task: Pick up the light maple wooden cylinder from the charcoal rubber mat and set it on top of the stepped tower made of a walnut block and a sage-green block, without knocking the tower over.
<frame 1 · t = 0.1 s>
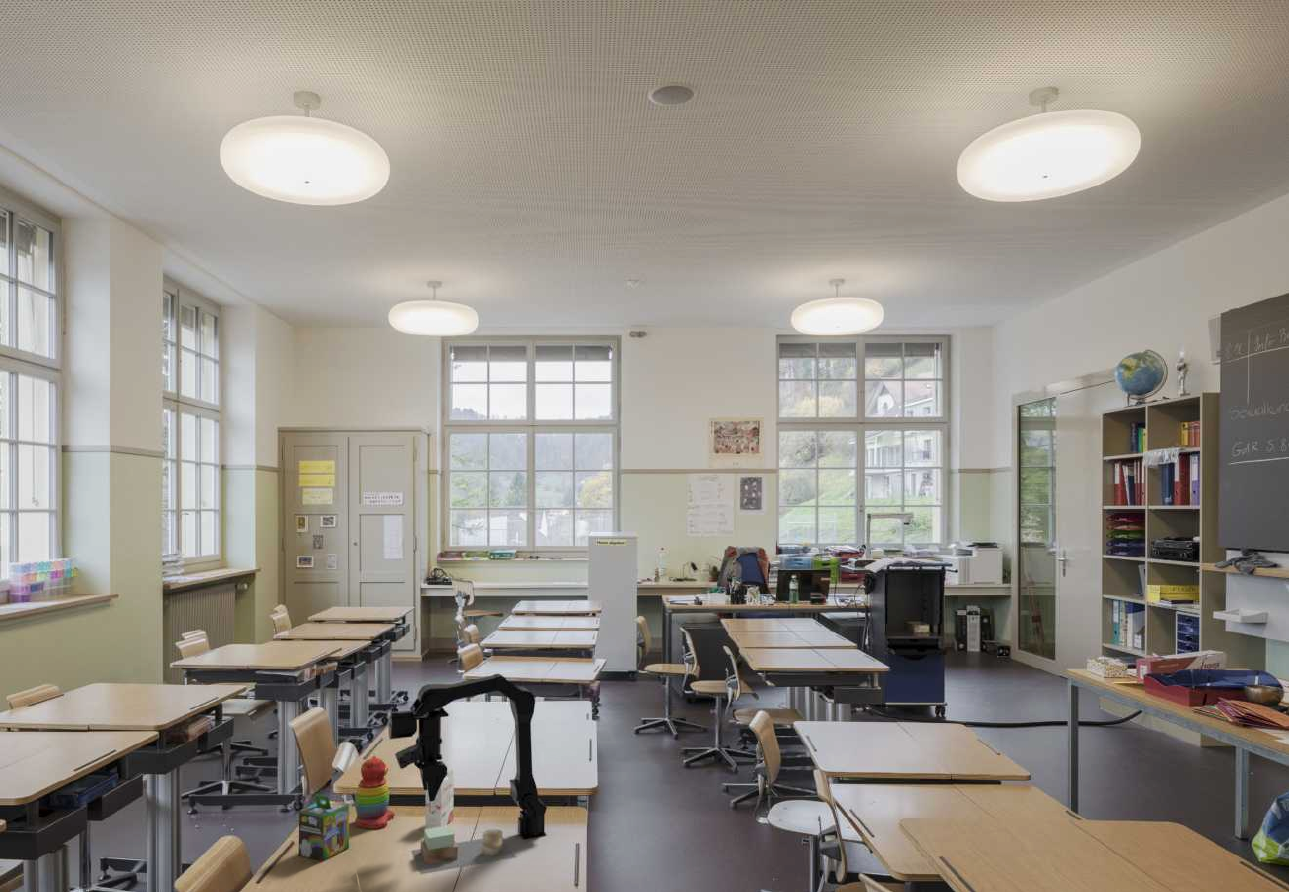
hand: (428, 795, 215), 15 cm above the table, tool pointing down, fingers open, 9 cm apart
walnut base block: (438, 855, 211), resting on rubber mat, touching sage top block
maple cylinder: (492, 852, 213), resting on rubber mat
ink cartridge box: (439, 825, 233), on the table
sage top block: (439, 843, 212), point 3 cm above the table, touching walnut base block
rubber mat: (463, 855, 212), on the table
stacking bear: (372, 822, 235), on the table
chalk box: (323, 852, 215), on the table
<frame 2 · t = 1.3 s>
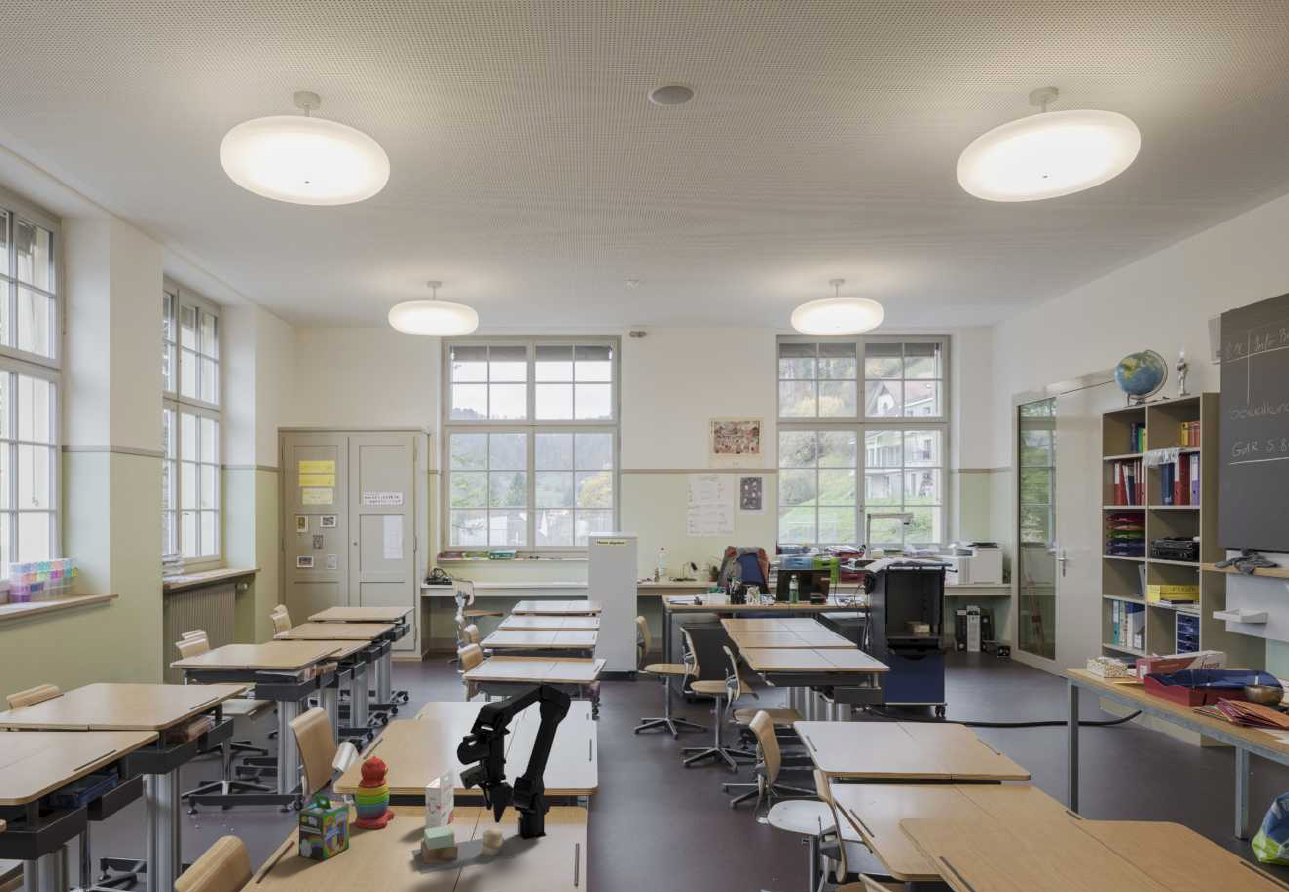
hand: (492, 816, 214), 10 cm above the table, tool pointing down, fingers open, 9 cm apart
nothing on the table moved.
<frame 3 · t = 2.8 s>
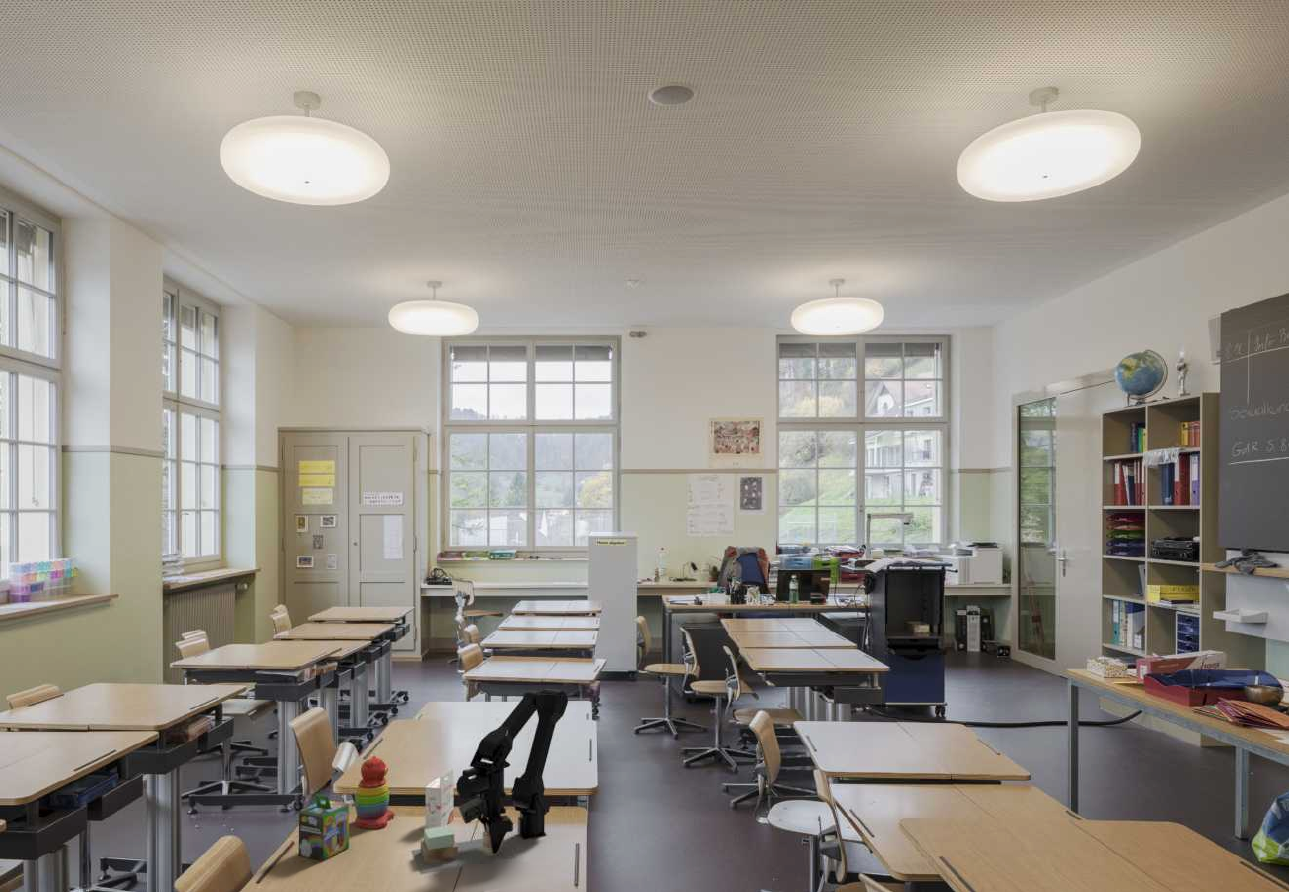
hand: (492, 849, 213), 1 cm above the table, tool pointing down, fingers closed on maple cylinder, 5 cm apart
maple cylinder: (492, 852, 213), resting on rubber mat, touching gripper
everything else where it was.
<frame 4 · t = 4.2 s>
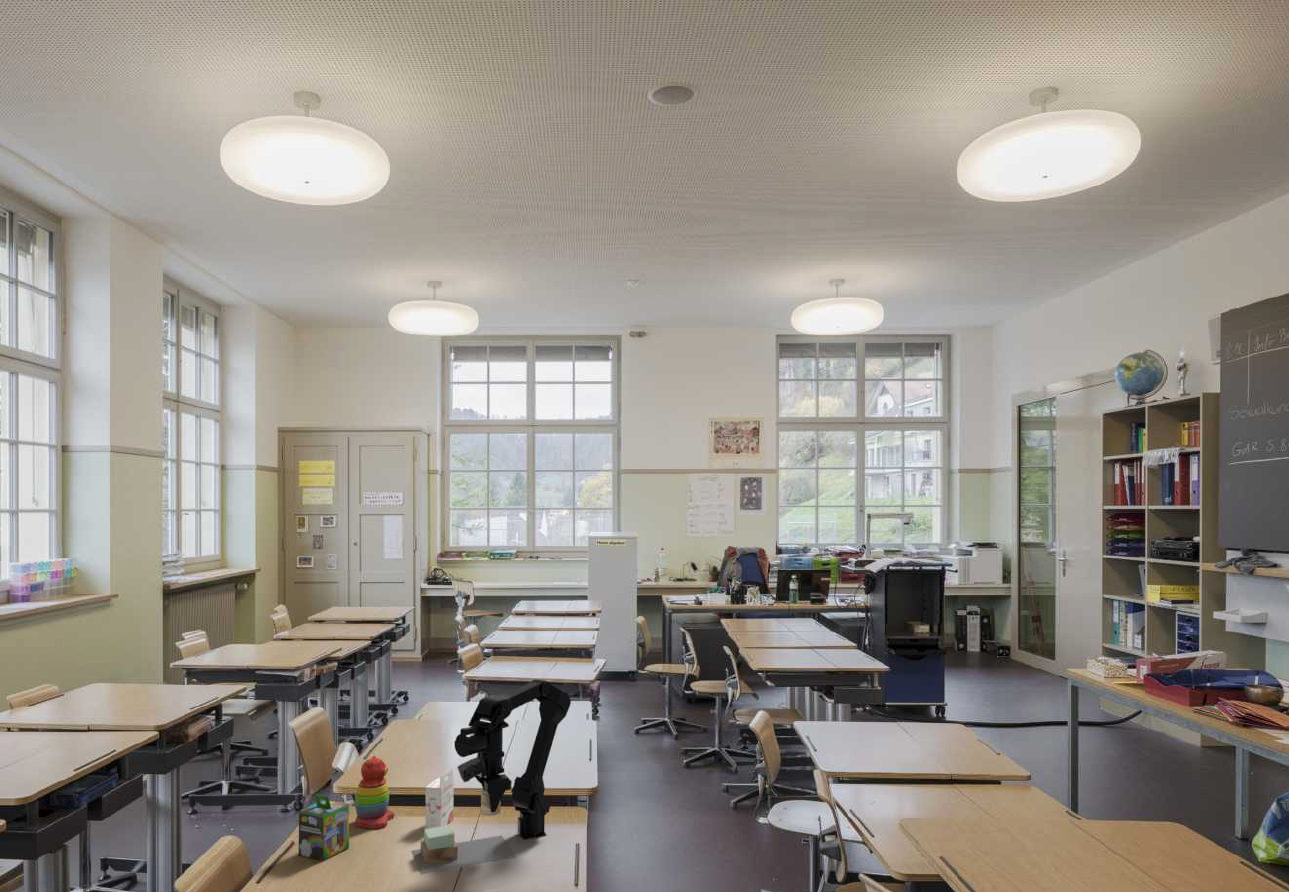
hand: (490, 808, 214), 12 cm above the table, tool pointing down, fingers closed on maple cylinder, 5 cm apart
maple cylinder: (490, 812, 214), point 11 cm above the table, touching gripper
everything else where it was.
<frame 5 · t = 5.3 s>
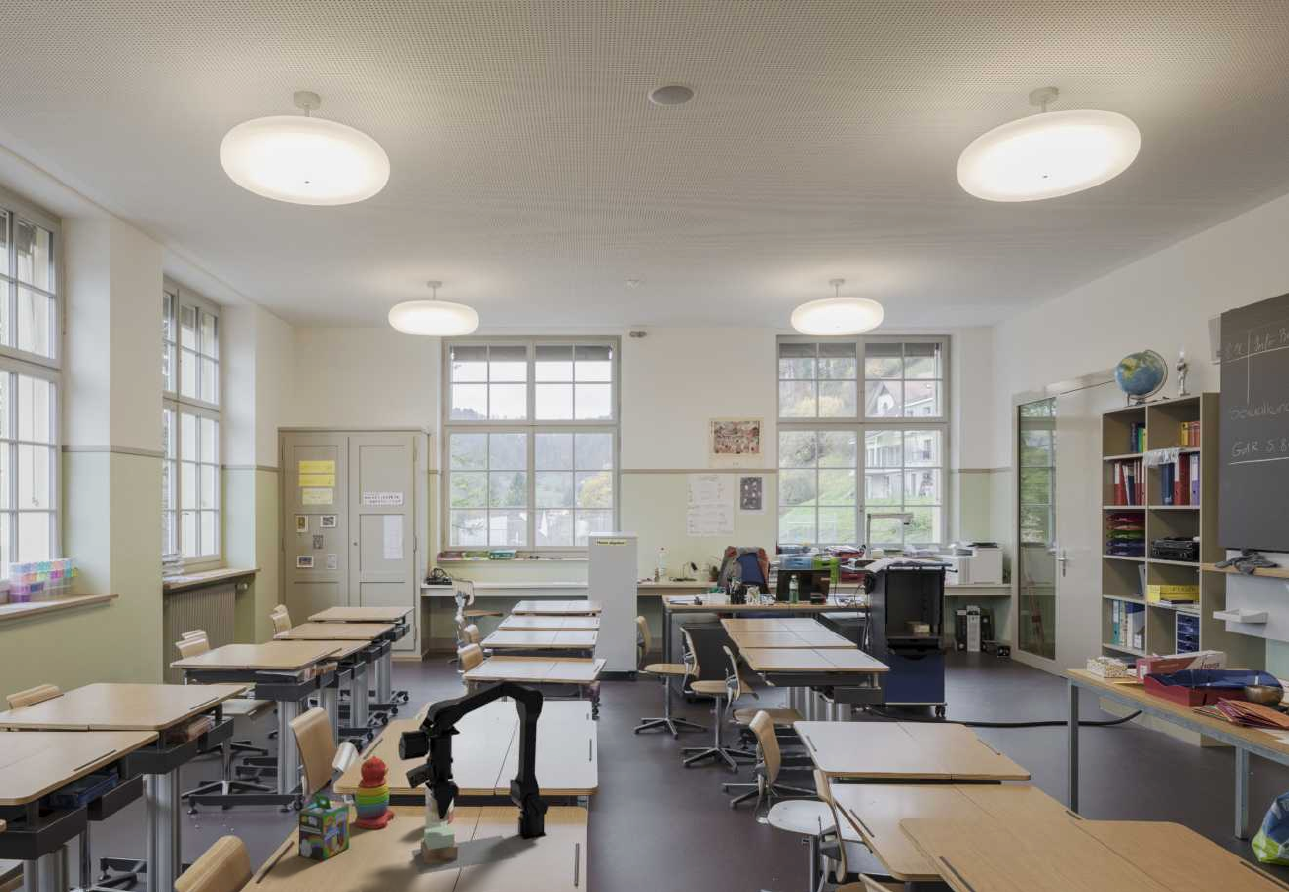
hand: (439, 815, 212), 10 cm above the table, tool pointing down, fingers closed on maple cylinder, 5 cm apart
maple cylinder: (439, 818, 212), point 10 cm above the table, touching gripper
everything else where it was.
when the fingers open (8 cm above the table, at t = 6.1 s): maple cylinder drops 1 cm, resting on sage top block.
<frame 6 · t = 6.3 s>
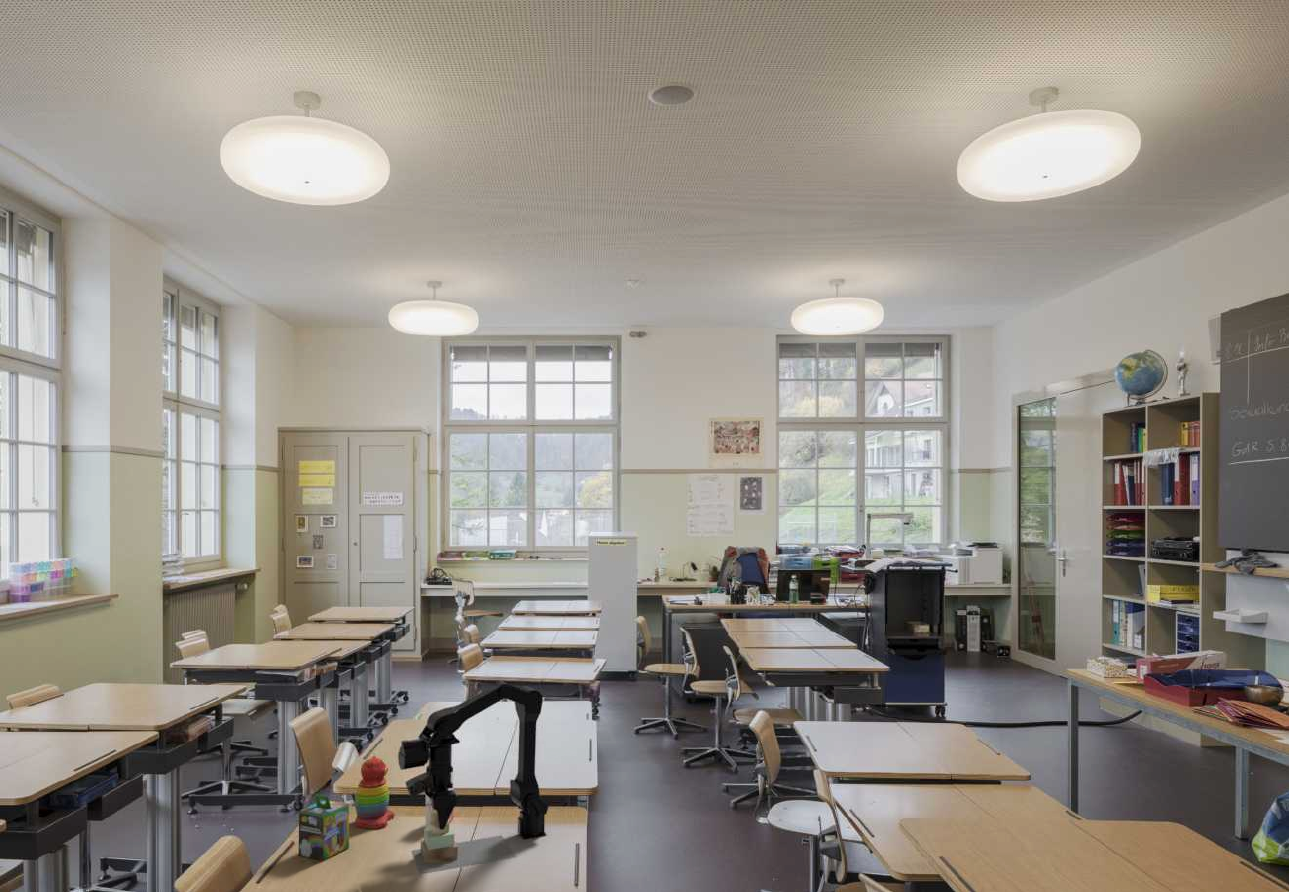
hand: (439, 824, 212), 8 cm above the table, tool pointing down, fingers open, 7 cm apart
maple cylinder: (439, 831, 212), point 6 cm above the table, touching sage top block
sage top block: (439, 843, 212), point 3 cm above the table, touching maple cylinder, walnut base block
everything else where it was.
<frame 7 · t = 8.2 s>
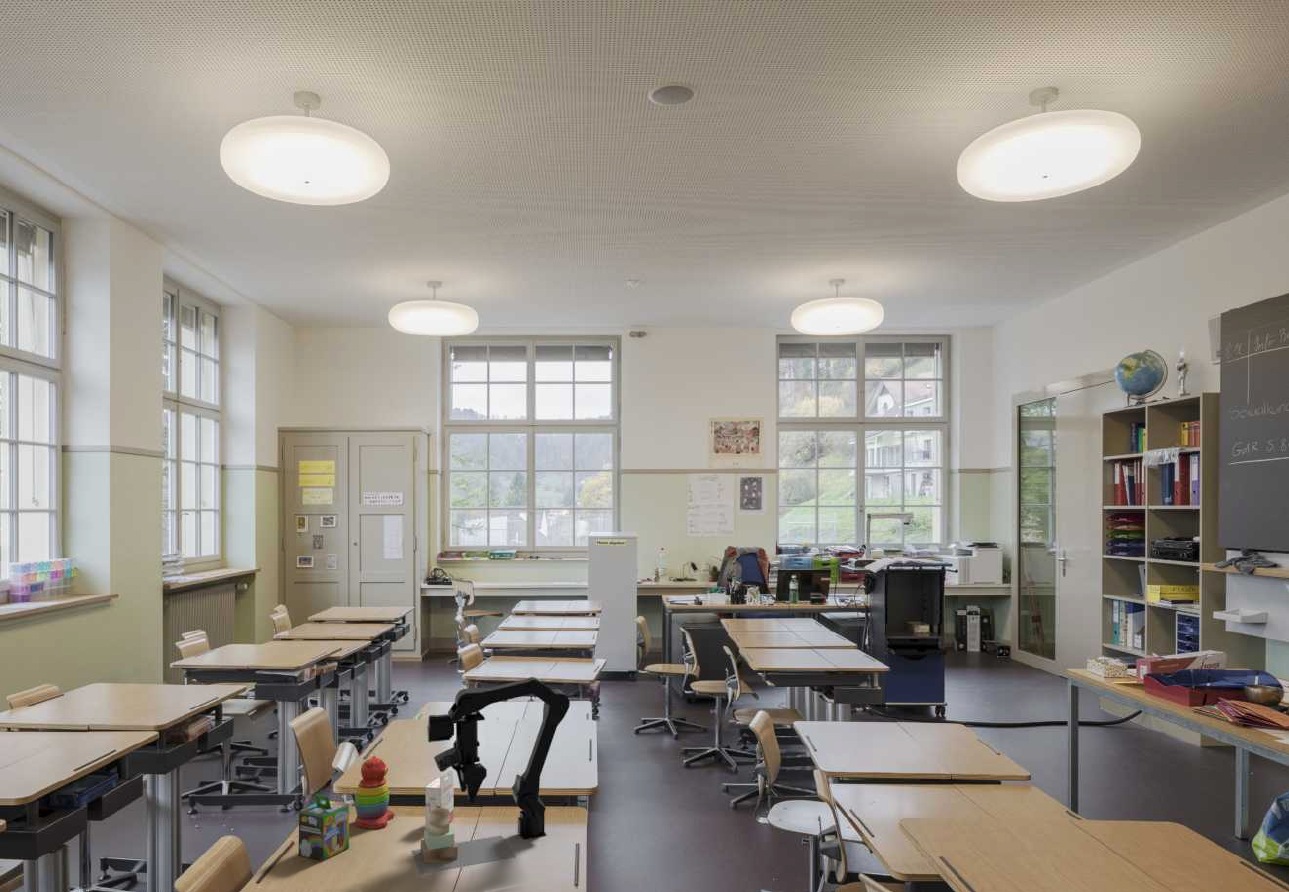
hand: (467, 797, 221), 12 cm above the table, tool pointing down, fingers open, 9 cm apart
nothing on the table moved.
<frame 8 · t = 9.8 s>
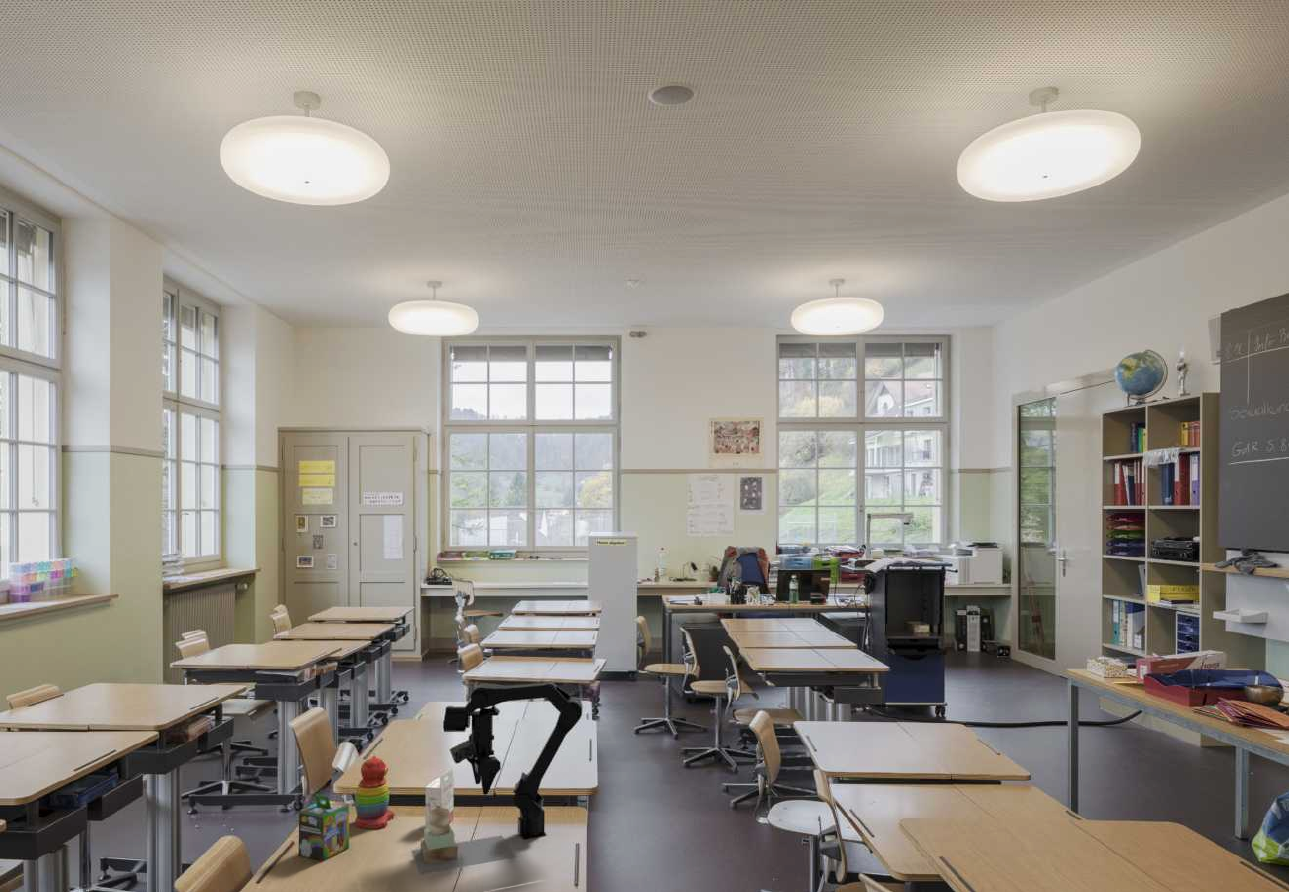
hand: (481, 789, 226), 13 cm above the table, tool pointing down, fingers open, 9 cm apart
nothing on the table moved.
at the end: maple cylinder 0.0 cm off-centre on the sage top block, point 3.0 cm above the sage top block's base; sage top block moved 0.0 cm from its start; maple cylinder tilted 0° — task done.
